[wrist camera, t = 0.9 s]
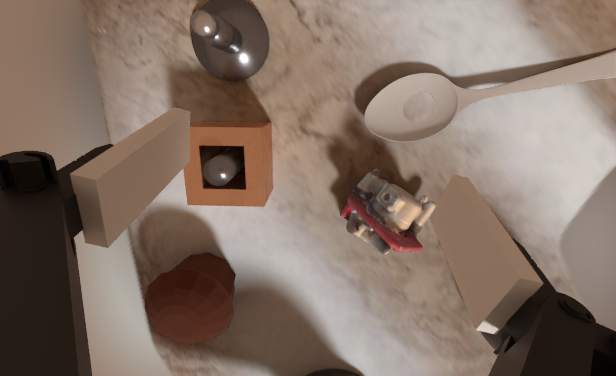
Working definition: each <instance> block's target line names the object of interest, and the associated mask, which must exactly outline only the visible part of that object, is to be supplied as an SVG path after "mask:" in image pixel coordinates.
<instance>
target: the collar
mask: <svg viewBox="0 0 616 376" xmlns="http://www.w3.org/2000/svg"><path fill="white" fill-rule="evenodd" d="M220 146H244V156H245V174H236V175H235V176H234V177H233V178H232V179H231V180H230V181H229V182H227V183H226V184H225V185H222V186H215V185H212V184H211V183H209V182H208V181H207V180H206V178H205V177H204V174H203V168H204V165H205V164H206V162H207V161H209V160H210V159H212V158H214V157H215V156H217V155H219V154H220ZM184 177H185V186H186V195H187V204H188V205H215V206H262V207H264V206H265V204H266V202H267V200H268V198H269V196H270V194H271V192H272V190H273V164H272V125H271V122H220V121H202V122H197V123H193V124H190V161H189V162H188V164H187V165H186V166H185V167H184Z"/></svg>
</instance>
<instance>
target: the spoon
mask: <svg viewBox="0 0 616 376" xmlns="http://www.w3.org/2000/svg"><path fill="white" fill-rule="evenodd" d="M607 78H616V50H613V51H611V52H608V53H605V54H602V55H600V56H597V57H594V58H591V59H587V60H584V61H581V62H578V63H574V64H571V65H568V66H564V67H561V68H557V69H554V70H550V71H547V72H543V73H540V74H537V75H533V76H530V77H526V78H523V79H520V80H516V81H513V82H510V83H506V84H503V85H499V86H496V87H492V88H487V89H481V90H469V89H464V88H461V87H458V86H456V85H455V84H453V83H452V82H451V81H450V80H448V79H447V78H445V77H444V76H442V75H439V74H435V73H418V74H412V75H408V76H405V77H402V78H399V79H397V80H395V81H393V82H392V83H390V84H389V85H387V86H386V87H385V88H383V89H382V90H381V91H380V92H379V93H378V94H377V95H376V96H375V97H374V98H373V99H372V100H371V101H370V103H369V104H368V106H367V108H366V111H365V115H364V120H365V124H366V126H367V128H368V129H369V130H370V131H371V132H372V133H373V134H375V135H377V136H378V137H381V138H383V139H386V140H390V141H395V142H414V141H419V140H423V139H426V138H429V137H431V136H433V135H436V134H438V133H439V132H441V131H442V130H444V129H445V128H446V127H447V126H448V125H449V124H450V123H451V122H452V120H453V119H454V118H455V116H456V115H457V114H458V113H459V112H460V111H461V110H462V109H464V108H465V107H467V106H468V105H470V104H472V103H475V102H477V101H480V100H483V99H487V98H491V97H495V96H500V95H505V94H511V93H517V92H523V91H529V90H535V89H541V88H547V87H553V86H559V85H565V84H570V83H576V82H582V81H589V80H596V79H607ZM419 92H427V93H429V94H431V95H432V97H433V98H434V101H435V107H434V111H433V113H432V115H431V116H430V117H429V118H428V119H427V120H425V121H422V122H414V121H411V120H408V119H407V118H406V117H405V116H404V114H403V105H404V103H405V102H406V101H407V99H408V98H410V97H411V96H412V95H414V94H416V93H419Z"/></svg>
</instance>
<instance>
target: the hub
mask: <svg viewBox="0 0 616 376" xmlns="http://www.w3.org/2000/svg"><path fill="white" fill-rule="evenodd" d="M191 27H192V43H193V48H194V51H195V54H196V56H197V58H198V60H199V61H200V63H201V64H202V65H203V67H204V68H205V69H206V70H207V71H209V72H210V73H211V74H213V75H214V76H216V77H218V78H221V79H225V80H230V81H239V80H244V79H247V78H249V77H251V76H253V75H254V74H255V73H257V72H258V71H259V70H260V68H261V67H262V66H263V64H264V62H265V60H266V58H267V55H268V51H269V34H268V30H267V27H266V24H265V22H264V20H263V19H262V17H261V15H260V14H259V13H258V12H257V10H256V9H255V8H254V7H253V6H252V5H250V4H249V3H248V2H246V1H244V0H211V1H209V2H208V3H207V4H205V5H204V6H203V7H202V8H201V9H200V10H199V11H196V12H194V13H193V15H192V17H191Z"/></svg>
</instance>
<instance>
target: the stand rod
mask: <svg viewBox="0 0 616 376" xmlns="http://www.w3.org/2000/svg"><path fill="white" fill-rule="evenodd" d="M244 166H245V156H244V146H232V147H231V148H229V149H227V150H225V151H224V152H222V153H220V154H219V155H217V156H215V157H214V158H212V159H210V160H209V161H207V162H206V164H205V165H204V168H203V174H204V177H205V178H206V180H207V181H208V182H209V183H211V184H212V185H215V186H222V185H225V184H226V183H227V182H229V181H230V180H231V179H232V178H233V177H234V176H235V175H236V174H237V173H238V172H239V171H240V170H241V169H242V168H243V167H244Z"/></svg>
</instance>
